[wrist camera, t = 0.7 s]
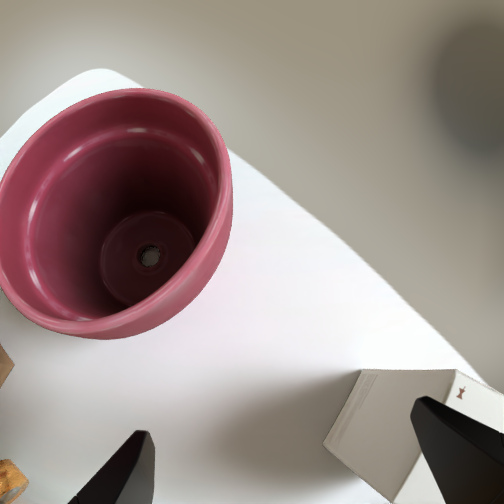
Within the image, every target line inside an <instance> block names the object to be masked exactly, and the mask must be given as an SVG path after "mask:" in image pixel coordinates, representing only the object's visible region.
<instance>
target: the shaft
mask: <svg viewBox="0 0 504 504" xmlns="http://www.w3.org/2000/svg"><path fill="white" fill-rule="evenodd" d="M28 484H29V480H28V479H27V478H26V477H25V476H24V475H23V473H22V472H21V471H20V470H19V469H18V468H17V467H16V465H15V464H14V463H13V462H12V461H11V460H9V459H4V460H1V461H0V504H10V503H12V502H13V501H14V500H15V499H16V498H18V497H19V496H20V495H21V494H22V493H23V491H24V490H25V489H26V487H27V486H28Z"/></svg>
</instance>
